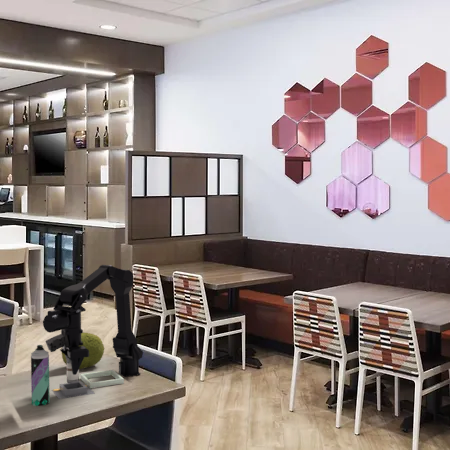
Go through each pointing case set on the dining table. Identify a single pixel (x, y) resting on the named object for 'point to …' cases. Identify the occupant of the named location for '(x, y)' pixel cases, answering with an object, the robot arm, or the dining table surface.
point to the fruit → (90, 350)
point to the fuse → (71, 373)
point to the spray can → (40, 376)
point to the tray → (101, 383)
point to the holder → (72, 390)
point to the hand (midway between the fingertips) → (72, 372)
